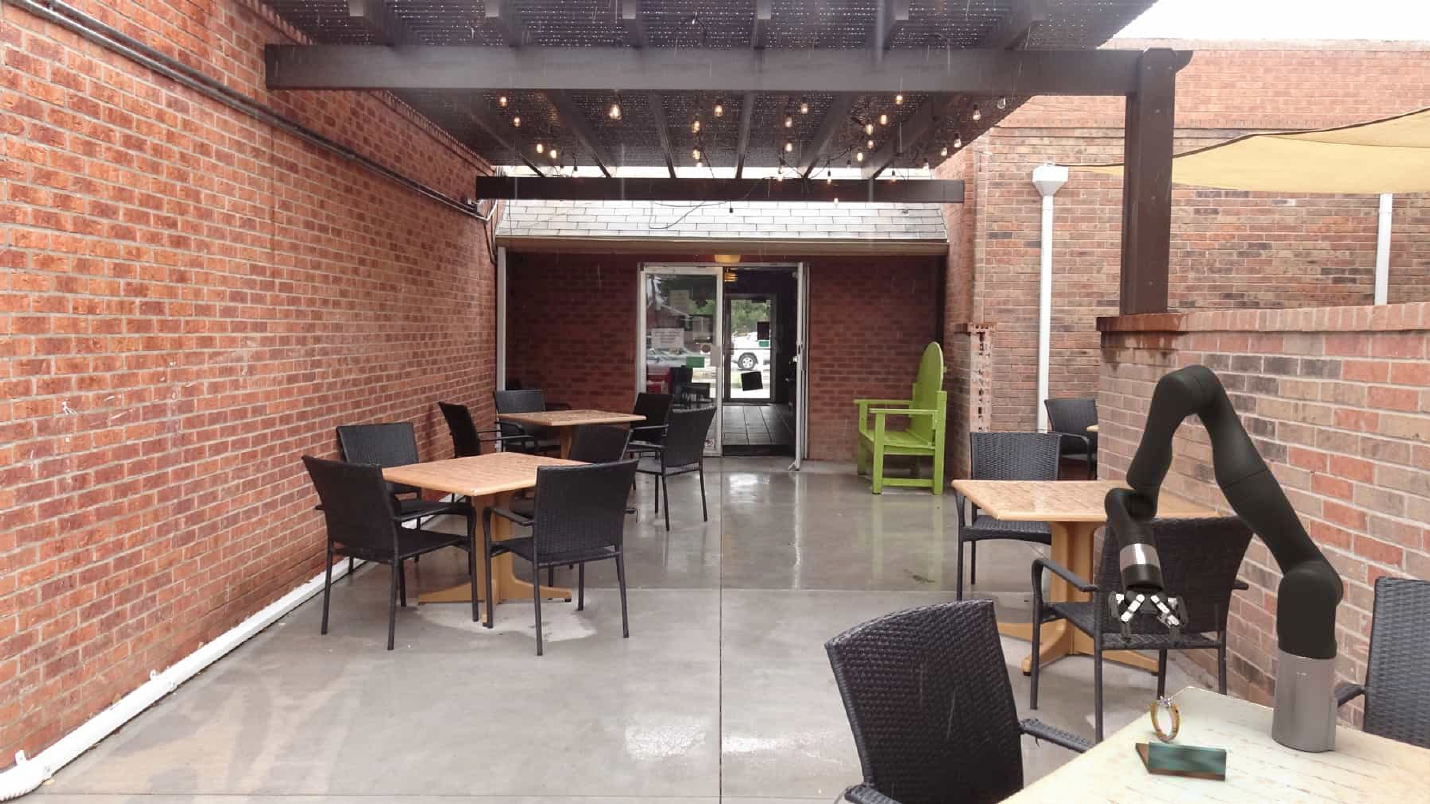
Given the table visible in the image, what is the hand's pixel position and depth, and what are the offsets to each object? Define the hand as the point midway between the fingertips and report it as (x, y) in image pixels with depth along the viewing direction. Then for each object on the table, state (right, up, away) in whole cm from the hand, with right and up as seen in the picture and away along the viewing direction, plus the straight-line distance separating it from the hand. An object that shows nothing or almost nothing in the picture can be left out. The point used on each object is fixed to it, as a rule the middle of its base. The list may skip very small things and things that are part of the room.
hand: (1151, 643), depth 188 cm
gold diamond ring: (-2, -16, -10) cm, 19 cm away
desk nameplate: (-4, -16, -20) cm, 26 cm away
